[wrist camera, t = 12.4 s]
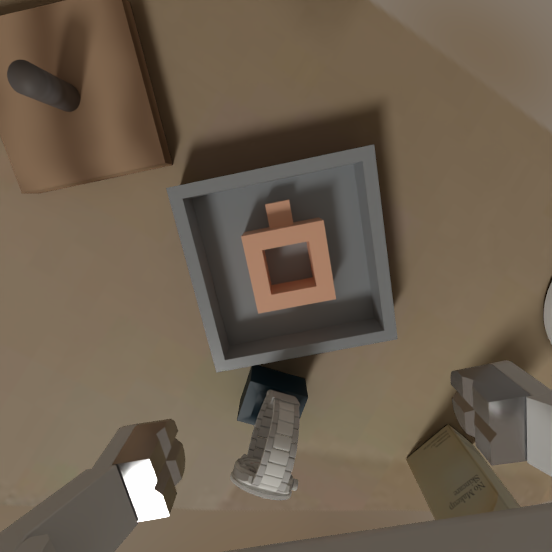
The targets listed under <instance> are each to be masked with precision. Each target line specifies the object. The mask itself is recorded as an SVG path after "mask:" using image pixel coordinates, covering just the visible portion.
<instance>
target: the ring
mask: <svg viewBox="0 0 552 552" xmlns="http://www.w3.org/2000/svg"><path fill="white" fill-rule="evenodd" d="M265 207H266V212H267V217H268V222H269V227H267V228H262V229H257V230H252V231H247V232H244V233H243V235H242V236H241V239H242V243H243V248H244V252H245V257H246V261H247V266H248V270H249V274H250V279H251V283H252V288H253V292H254V297H255V301H256V306H257V310H258V314H259V313H265V312H270V311H275V310H281V309H286V308H291V307H297V306H302V305H307V304H313V303H318V302H323V301H329V300H334V299H336V295H335V289H334V283H333V276H332V270H331V264H330V257H329V251H328V245H327V239H326V232H325V226H324V220H322V219H321V218H319V217H318V218H313V219H308V220H303V221H298V222H293V219H292V213H291V208H290V202H289V200H283V201H278V202H273V203H268V204H265ZM302 242H307V248H308V254H309V259H310V265H311V271H312V277H311V278H306V279H301V280H296V281H290V282H285V283H280V284H275V285H271V280H270V275H269V270H268V265H267V260H266V256H265V251H264V250H266V249H271V248H276V247H281V246H286V245H292V244H297V243H302Z"/></svg>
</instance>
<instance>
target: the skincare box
mask: <svg viewBox="0 0 552 552" xmlns="http://www.w3.org/2000/svg"><path fill="white" fill-rule="evenodd" d="M407 463H408V465H409V467H410V469H411V471H412V473H413V475H414V477H415V479H416V481H417V483H418V485H419V487H420V489H421V492H422V494H423V496H424V498H425V500H426V502H427V504H428V506H429V508H430V510H431V512H432V515H433V517H434V519H435V520H439V519H446V518H452V517H459V516H466V515H472V514H479V513H486V512H492V511H499V510H506V509H512V508H519V507H520V505H519V504H518V503H517V502H516V500H515V499H514V498H513V496H512V495H511V494H510V492H509V491H508V490H507V488H506V487H505V486H504V485H503V483H502V482H501V481H500V479H499V478H498V477H497V475H496V474H495V473H494V471H493V470H492V469H491V467H490V466H489V465H488V464H487V462H486V461H485V460H484V458H483V457H482V456H481V454H480V453H479V452H478V450H477V449H476V448H475V447H474V445H473V444H471V443H470V442H469V441H468V440H467V439H466V438H465V437H463V436H462V435H461V434H460V433H459V432H457V431H456V430H455V429H453V428H452V427H451V426H450V425H446V426H445V427H444V428H443V429H441V430H440V431H439V432H438V433H437V434H435V435H434V436H433V437H432V438H431V439H429V440H428V441H427V442H426V443H425V444H423V445H422V446H421V447H420V448H419V449H417V450H416V451H415V452H414V453H413V454H411V455H410V456H409V457H408V458H407Z"/></svg>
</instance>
